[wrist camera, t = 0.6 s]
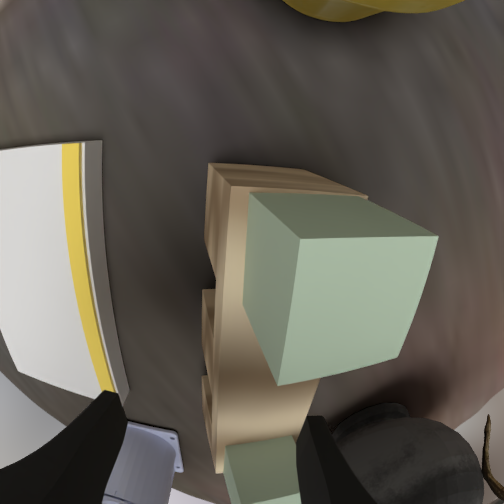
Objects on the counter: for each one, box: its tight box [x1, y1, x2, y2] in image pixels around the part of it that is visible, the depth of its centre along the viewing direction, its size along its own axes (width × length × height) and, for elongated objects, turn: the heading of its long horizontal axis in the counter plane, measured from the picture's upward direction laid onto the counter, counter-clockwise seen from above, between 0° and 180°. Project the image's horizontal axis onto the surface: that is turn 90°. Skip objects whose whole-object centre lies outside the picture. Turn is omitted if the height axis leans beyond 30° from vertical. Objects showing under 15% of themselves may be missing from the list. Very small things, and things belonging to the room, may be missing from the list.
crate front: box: [242, 192, 438, 386], centre depth 9 cm, size 4×4×4 cm
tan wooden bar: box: [202, 163, 368, 474], centre depth 16 cm, size 18×5×6 cm, turn 174°
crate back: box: [223, 435, 301, 504], centre depth 14 cm, size 4×4×4 cm
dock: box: [0, 140, 130, 406], centre depth 18 cm, size 20×12×2 cm, turn 174°
